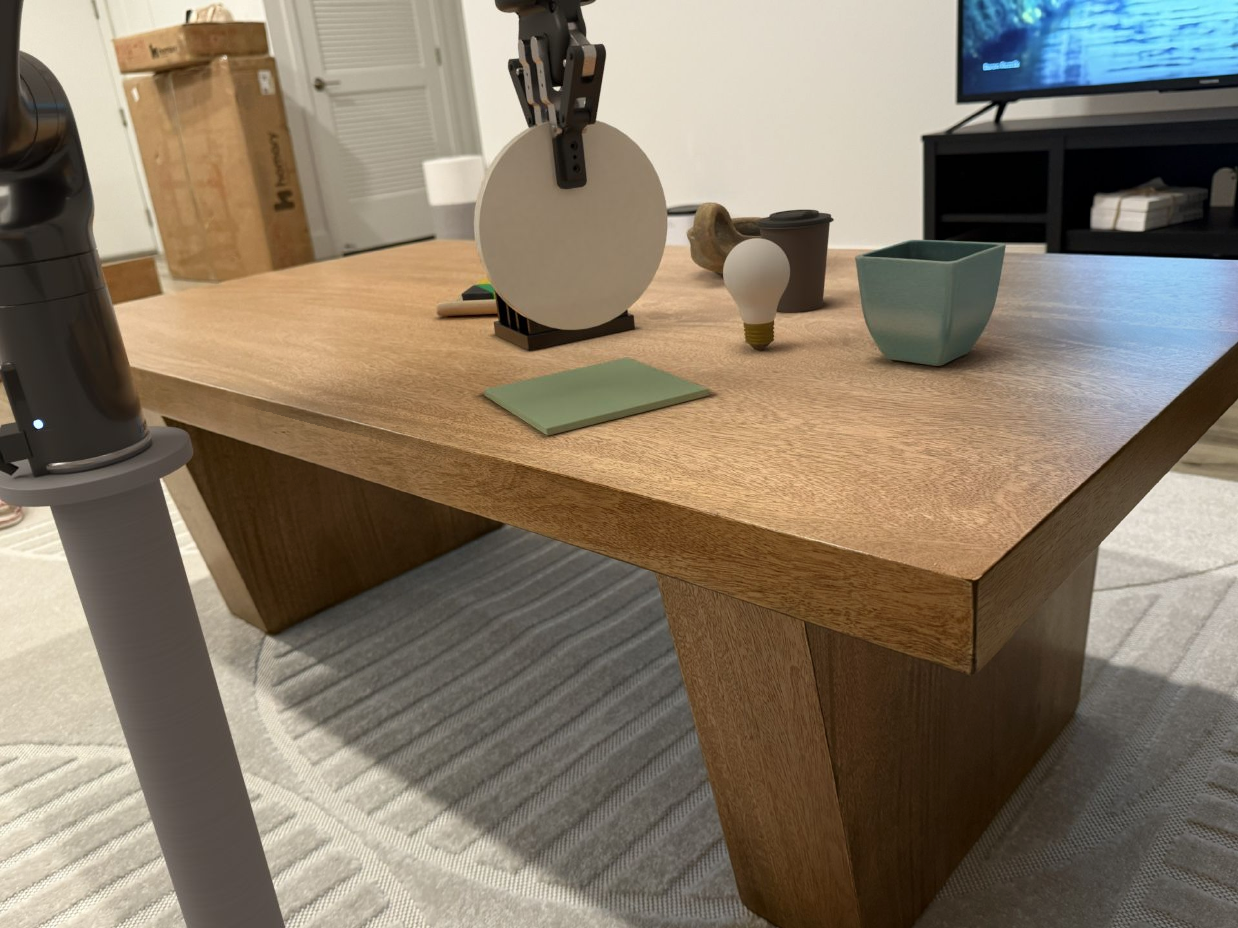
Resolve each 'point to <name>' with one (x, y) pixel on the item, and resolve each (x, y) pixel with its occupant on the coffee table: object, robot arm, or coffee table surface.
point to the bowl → (718, 235)
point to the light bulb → (757, 286)
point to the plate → (570, 228)
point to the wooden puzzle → (471, 301)
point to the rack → (549, 329)
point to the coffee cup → (800, 255)
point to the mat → (592, 394)
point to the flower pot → (929, 297)
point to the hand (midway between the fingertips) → (567, 186)
